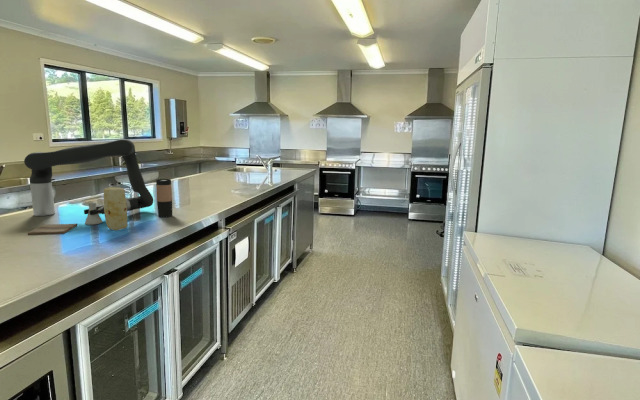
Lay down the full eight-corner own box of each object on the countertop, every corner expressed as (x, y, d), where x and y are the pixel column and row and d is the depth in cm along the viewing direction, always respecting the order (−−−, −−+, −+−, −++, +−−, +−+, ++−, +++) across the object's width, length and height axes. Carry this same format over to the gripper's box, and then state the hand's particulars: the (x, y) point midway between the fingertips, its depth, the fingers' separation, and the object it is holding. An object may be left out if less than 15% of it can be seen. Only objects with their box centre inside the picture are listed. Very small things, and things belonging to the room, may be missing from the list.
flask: (94, 225, 178) (92, 205, 176) (81, 224, 179) (79, 204, 178) (105, 222, 185) (104, 202, 183) (93, 221, 186) (91, 201, 185)
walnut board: (43, 226, 174) (43, 224, 174) (77, 225, 177) (76, 223, 177) (27, 234, 161) (27, 232, 160) (64, 233, 164) (63, 231, 164)
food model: (130, 227, 177) (127, 186, 173) (125, 231, 170) (122, 188, 167) (108, 227, 176) (105, 186, 172) (102, 231, 169) (99, 188, 165)
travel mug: (154, 216, 200) (152, 180, 196) (165, 213, 207) (163, 178, 203) (165, 218, 197) (163, 181, 193) (176, 215, 204) (174, 179, 200)
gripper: (108, 198, 196) (76, 203, 180) (127, 200, 191) (96, 206, 175) (109, 211, 197) (78, 218, 182) (128, 214, 192) (98, 221, 177)
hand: (87, 212), depth 179 cm, fingers closed on flask, 3 cm apart
